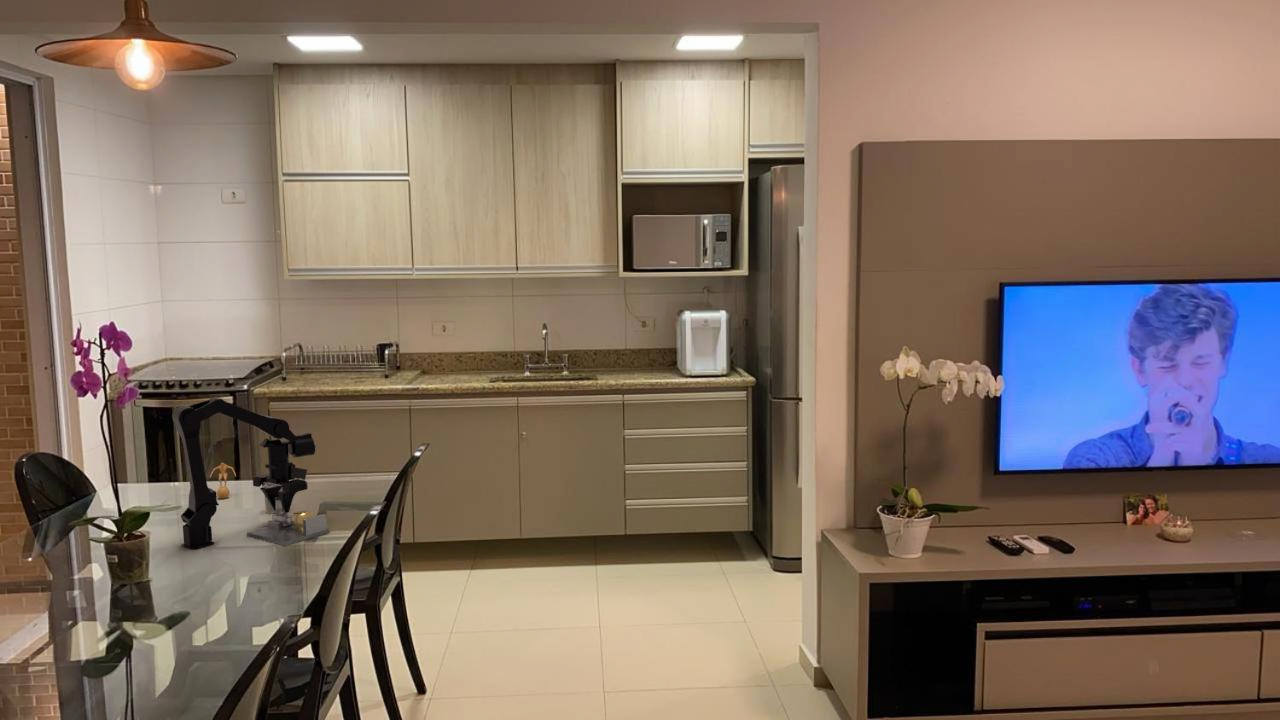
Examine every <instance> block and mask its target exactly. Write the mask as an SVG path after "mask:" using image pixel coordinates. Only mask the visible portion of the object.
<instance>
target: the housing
mask: <svg viewBox="0 0 1280 720" xmlns="http://www.w3.org/2000/svg"><path fill="white" fill-rule="evenodd" d="M293 514H294V529H295V531H296V532H304V530H303V520H304V519H308V518H311V517H313V511H311V510H297V511H295V512H293Z"/></svg>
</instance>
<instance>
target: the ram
mask: <svg viewBox="0 0 1280 720" xmlns="http://www.w3.org/2000/svg"><path fill="white" fill-rule="evenodd" d="M274 499H275V504H276V513H273V514H271V521H275V522H279V523H281V526H282V527H283V526H287V525H294V513H290V512H288V513H285V511H284V509H283V506H282V503H281V500H280V497H279V495H276V496H274Z"/></svg>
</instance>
